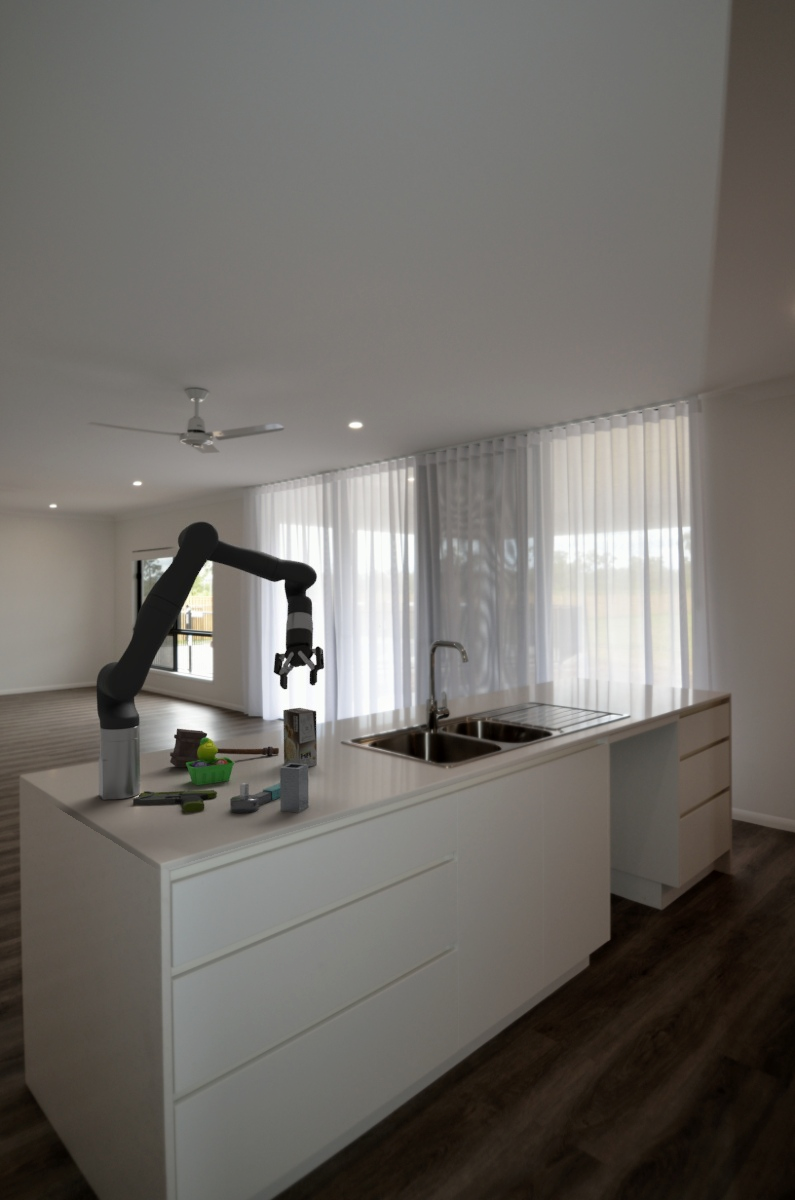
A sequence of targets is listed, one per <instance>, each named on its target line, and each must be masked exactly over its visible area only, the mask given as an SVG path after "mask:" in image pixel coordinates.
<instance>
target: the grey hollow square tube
mask: <svg viewBox="0 0 795 1200" xmlns="http://www.w3.org/2000/svg"><path fill="white" fill-rule="evenodd" d="M279 770H280V771H279V773H280V774H279V775H280V776H279V778H280V779H279V780H280V782H279V783H280V797H279V801H280V812H287V813H288V812H291V813H299V814H300V813H301V812H303V811H305V810H306V809H307V808H308V807H309V767H308V764H298V763H289V764H284V765H282V766H281V767H279Z"/></svg>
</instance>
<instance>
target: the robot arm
mask: <svg viewBox="0 0 795 1200" xmlns="http://www.w3.org/2000/svg"><path fill="white" fill-rule="evenodd" d="M177 544H178V548H179V549H178V551H177V552H176V554H175V556H174V559H173V560H172V562H171V563H170V565H169V566H167V568H166V569H165V571H164V572H163V573H162V574H161V575H160V577H158V579H157V581H156V582H155V583H154V584H153V586H152V587H151V589H150V590H149V592H148V593H147V595H146V597H145V599H144V601H143V603H142V604H141V606H140V609H139V611H138V613H137V616H136V619H135V624H134V628H133V632H132V633H133V634H132V637H131V639H130V641H129V644H128V645H127V648H126V649H125V651H124V652H123V654H122V656H121V657H120V658H119V660H118V661H113V662H109V663H106V664H105V665H104V666H103V667H102V668H101V669H100V670H99V672H98V675H97V678H96V707H97V709H96V710H97V716H98V720H99V727H100V728H99V747H100V748H99V749H100V751H99V752H100V753H99V754H100V755H99V756H98V795H99V797H100V798H101V799H102V800H103V801H105V800H121V799H128V798H131V797H135V796H137V795H138V796H139V795H140V794H141V777H140V776H141V764H140V763H141V762H140V761H141V760H140V759H141V758H140V757H141V756H140V753H141V751H140V749H141V748H140V746H141V745H140V743H141V741H140V715H139V713H138V710H137V707H136V703H135V697H136V696H137V695H138V694H139V693H140V692H141V690H142V689H143V687H144V685H145V682H146V680H147V677H148V674H149V672H150V669H151V668H152V665H153V662H154V660H155V658H156V656H157V654H158V652H159V650H160V648H161V647H162V645H163V643H164V642H165V640H166V639H167V637H168V635H169V633H170V631H171V629H172V627H173V626H174V624H175V623H176V621H177V619H178V617H179V615H180V613H181V611H182V610H183V607H184V606H185V603H186V601H187V599H188V597H189V594H190V593H191V591H192V588H193V586H194V585H195V581H197V580H196V579H197V577H198V576H199V574H200V572H201V571H202V569H203V568H204V566H205V564H206V563H207V561H209V562H214V563H217V564H221V565H224V566H225V565H226V566H228V567H231V568H234V569H237V570H239V571H243V572H245V573H247V574H248V573H249V574H250V575H254V576H256V577H259V578H261V579H264V580H267V581H269V582H273V583H277V582H280V581H284V584H283V585H284V593H285V597H286V602H287V615H286V616H287V617H286V624H285V625H286V627H285V652H284V653H279V652H276V653H275V655H274V662H273V663H274V664H273V673H274V674H275V675H277V676H279V686H280V687H281V688H282V689H283V690H288V675H289V673H291V671H292V670H293V669H294V668H299V667H306V666H307V667H308V668H309V669H310V670H309V685H311V686H315V685H316V683H318V672H319V671H320V670H323V669H324V668H325V662H324V661H325V660H324V650H323V648H321V646H318V645H317V646H316V647H315V648H313V644H314V643H313V639H314V637H313V636H314V634H313V633H314V622H313V601H312V599H311V598H310V597H309V596H307V590H308V589H310V588H311V587H313V586H314V584H315V583H316V582H317V578H318V575H317V571H316V570H315V569H314V568H313V566H311V565H309V564H308V563H305V562H303V561H302V562H301V561H297V560H290V559H282V558H280V557H277V556H274V555H272V554H269V553H267V552H263V551H261V550H257V549H253V548H248V547H244V546H239V545H235V544H231V543H228V542H226V541H224V540H221V539H219V532H218V530H217V528H216V526H215V525H213V524H212V523H211V522H208V521H204V520H203V521H202V520H200V521H195V522H193V523H190V524H189V525H187V526H186V527H185V528H184V529H182V530H181V532H180V533H179V535H178V538H177ZM313 655H314V656H315V663H314V661H312V657H313Z"/></svg>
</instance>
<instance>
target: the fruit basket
mask: <svg viewBox="0 0 795 1200" xmlns="http://www.w3.org/2000/svg"><path fill="white" fill-rule="evenodd" d="M217 748H218V746H216V744H215V743H214V740H212V738H209V737H206V738H202V739H201V741H200V746H199V748H198V751H197V755H198V758H199V759H200V760H197V761H193V762H188V763H186V765H187V767H186V768H187V770H188V773H189V778H190V779H191V782H192V783H193V784H194V785H196V786H203V785H209V784H215V783H221V782H227V781H230V779H231V775H232V771H233V766H234V764H235V761H233V760H232V759H231V758H229V757H227V756H226V757H225V756H224V757H223V756H222V757H216V755H217V754H218V753H217V752H218V749H217Z"/></svg>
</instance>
